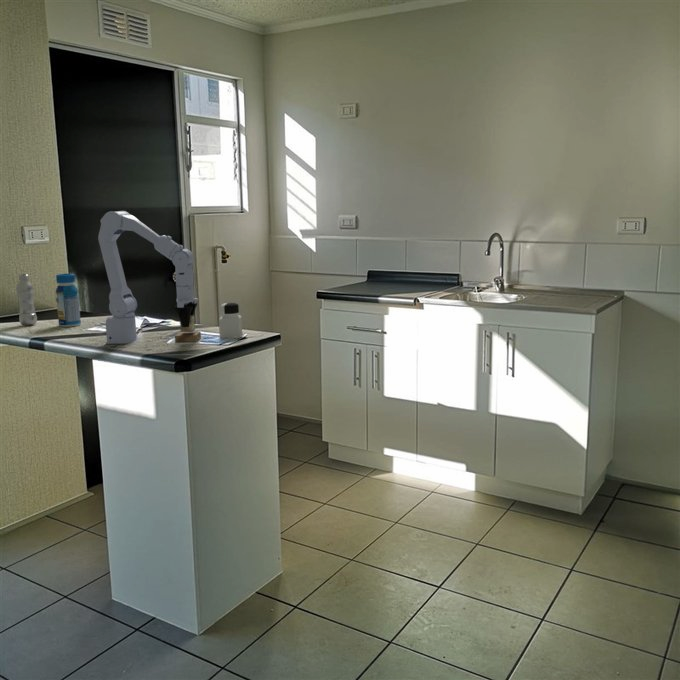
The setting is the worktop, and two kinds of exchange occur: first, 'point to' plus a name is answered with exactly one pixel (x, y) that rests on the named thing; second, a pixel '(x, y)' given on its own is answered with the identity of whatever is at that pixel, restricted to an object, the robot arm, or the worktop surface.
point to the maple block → (191, 325)
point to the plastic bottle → (26, 301)
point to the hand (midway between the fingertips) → (187, 325)
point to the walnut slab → (187, 337)
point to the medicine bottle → (230, 321)
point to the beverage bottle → (67, 301)
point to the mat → (186, 343)
